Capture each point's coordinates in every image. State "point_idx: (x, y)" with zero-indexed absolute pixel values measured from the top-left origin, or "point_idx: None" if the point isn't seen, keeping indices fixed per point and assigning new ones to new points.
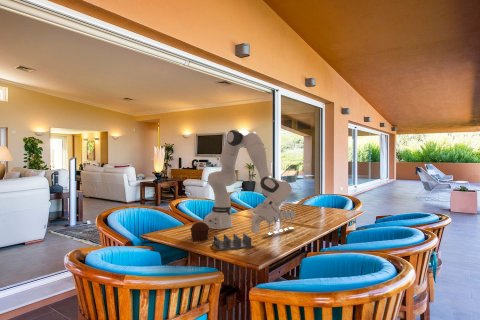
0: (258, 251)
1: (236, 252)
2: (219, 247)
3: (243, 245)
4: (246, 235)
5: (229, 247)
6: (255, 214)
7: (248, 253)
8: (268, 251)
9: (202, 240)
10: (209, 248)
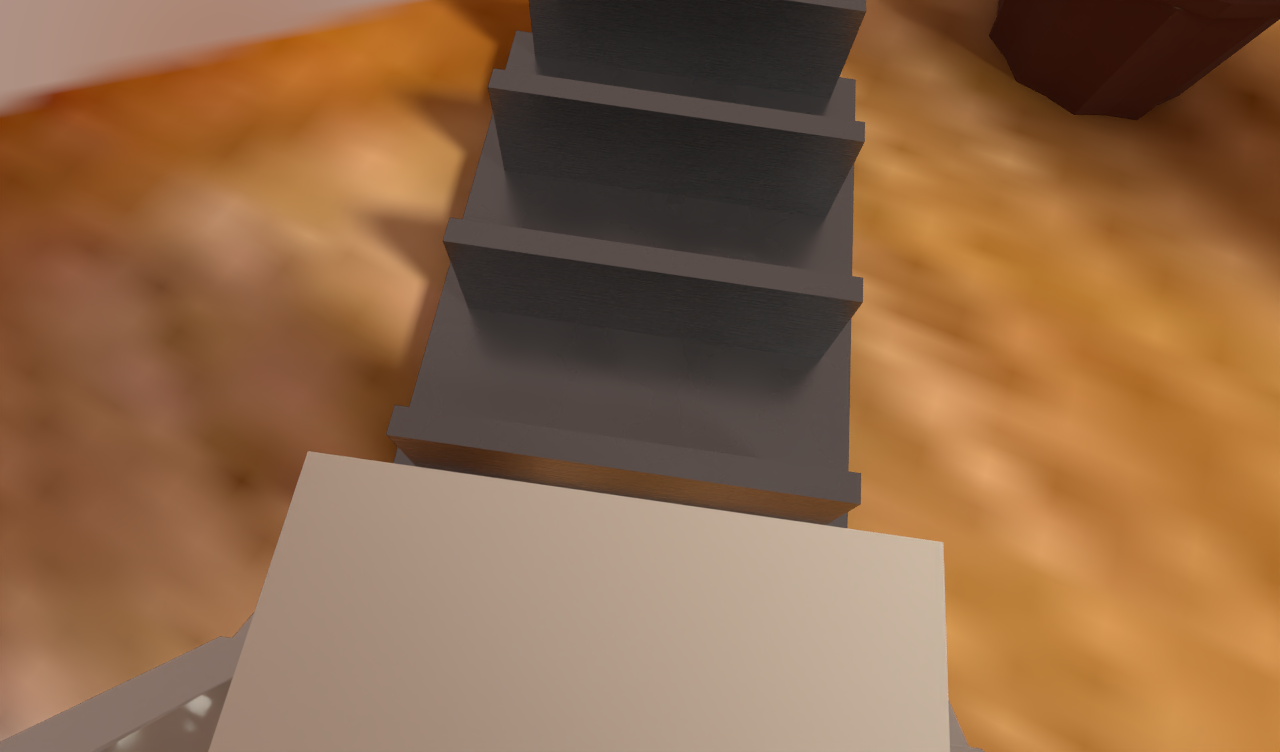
0: (163, 477)
1: (330, 190)
2: (536, 43)
3: (482, 355)
4: (621, 439)
5: (498, 152)
6: (571, 678)
7: (187, 301)
8: (40, 638)
9: (998, 35)
10: None
